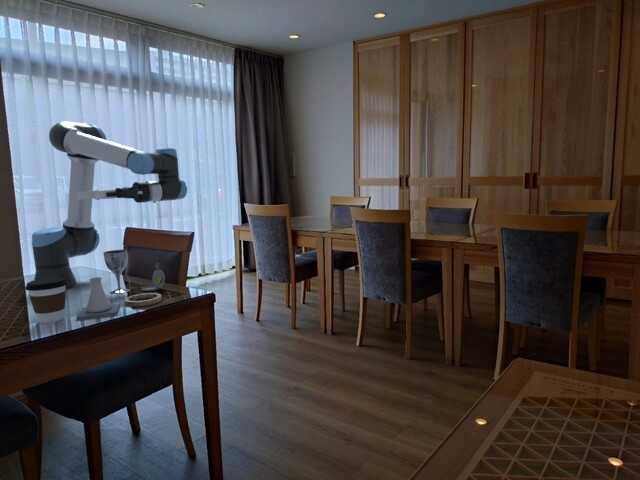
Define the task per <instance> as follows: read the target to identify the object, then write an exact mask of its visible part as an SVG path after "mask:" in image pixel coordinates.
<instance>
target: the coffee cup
mask: <svg viewBox="0 0 640 480" xmlns="http://www.w3.org/2000/svg"><path fill="white" fill-rule="evenodd" d="M67 284H68V281H66V279H65V278H63V277H54V278H44V279H39V280H34V279H33V280H31V281H29V282H27V283H26V286H25V288H24V290H25V291H28V293H29V299H30V301H31V302H30V303H31V304H32V308H33V312H34V313H35V314H36V318H37V320H38V322H39V323H40V324H52V323H56V322H57V323H58V322H60V321H62V320H63V319H64V316H65V309H66V297H67V296H66V294H67V289H65V285H67Z"/></svg>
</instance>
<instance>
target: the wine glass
mask: <svg viewBox="0 0 640 480" xmlns="http://www.w3.org/2000/svg"><path fill="white" fill-rule="evenodd" d="M128 257H129V255H128V250H127V249H114V250H108V251H104V252H103V259H104V263H105V266H106V267H107V270H109V271H110V272H111V273H112V274H113V275H114V276H115V277H116V283H117V288H116V289H114V290H111V291H109V294H111V295H118V294H125V293H128V292H130V291H131V290H130V289H128V288H122V287H121V275H122V273H123V272H124V270H125V269H126V267H127V265H128V260H129V259H128Z"/></svg>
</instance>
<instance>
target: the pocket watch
mask: <svg viewBox="0 0 640 480" xmlns="http://www.w3.org/2000/svg"><path fill="white" fill-rule="evenodd" d="M160 265H161V264H160V263H159V262H157V263H156V264H155V265H154V267H155V268H156V270H154V272H153V274H152V278H151V281H152V285H146V286H143V287H142V286H141V291H143V292H154V291H157V290H160V289H161V288H162V287H163V286H164V283H165V280H166V279H165V278H166V276H165V273H164V271H163V270H162V269H159V267H160Z"/></svg>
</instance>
